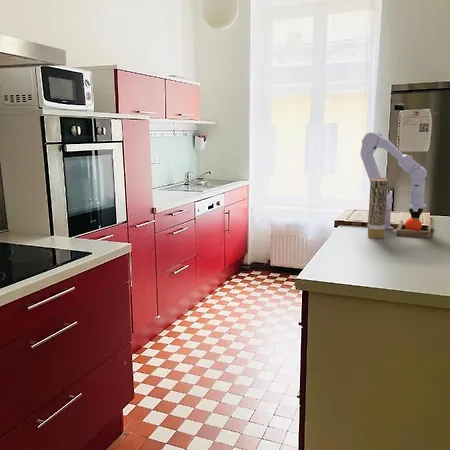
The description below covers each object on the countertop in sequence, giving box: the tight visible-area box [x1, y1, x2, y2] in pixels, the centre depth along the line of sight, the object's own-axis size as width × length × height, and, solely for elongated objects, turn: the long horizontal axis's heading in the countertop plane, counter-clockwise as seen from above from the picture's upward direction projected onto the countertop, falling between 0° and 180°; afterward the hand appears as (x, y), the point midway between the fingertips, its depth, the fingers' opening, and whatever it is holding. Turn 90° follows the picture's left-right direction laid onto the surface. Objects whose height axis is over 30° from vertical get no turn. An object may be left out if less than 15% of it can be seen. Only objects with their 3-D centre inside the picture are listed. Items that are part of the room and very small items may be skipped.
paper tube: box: [367, 177, 389, 240], centre depth 199 cm, size 7×7×25 cm
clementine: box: [404, 217, 423, 231], centre depth 207 cm, size 8×7×7 cm
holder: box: [395, 220, 432, 239], centre depth 211 cm, size 21×13×2 cm, turn 156°
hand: (414, 224), depth 211 cm, fingers closed
